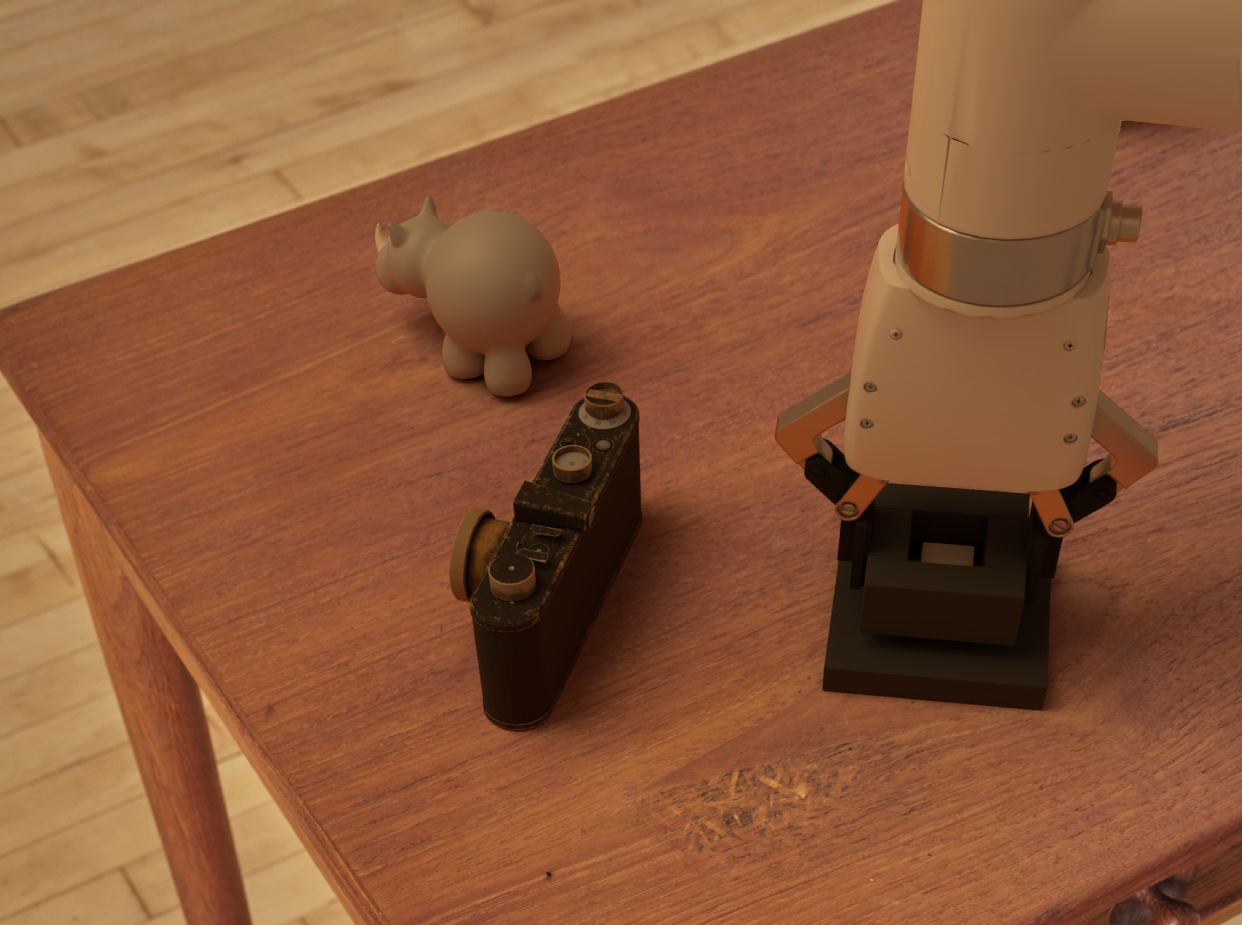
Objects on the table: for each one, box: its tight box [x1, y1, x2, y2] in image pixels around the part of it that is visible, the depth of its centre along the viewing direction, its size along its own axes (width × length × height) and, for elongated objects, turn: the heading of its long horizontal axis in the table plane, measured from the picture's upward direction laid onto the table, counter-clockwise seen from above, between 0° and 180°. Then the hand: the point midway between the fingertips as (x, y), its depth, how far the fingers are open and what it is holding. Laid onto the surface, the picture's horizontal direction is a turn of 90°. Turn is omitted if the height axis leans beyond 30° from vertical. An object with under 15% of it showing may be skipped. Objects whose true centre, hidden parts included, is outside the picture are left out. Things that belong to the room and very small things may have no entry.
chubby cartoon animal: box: [373, 194, 571, 397], centre depth 98 cm, size 7×12×8 cm, turn 50°
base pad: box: [821, 542, 1052, 711], centre depth 85 cm, size 10×10×4 cm
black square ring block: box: [859, 482, 1031, 646], centre depth 83 cm, size 7×7×3 cm
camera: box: [448, 381, 643, 731], centre depth 85 cm, size 16×7×8 cm, turn 160°
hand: (942, 574), depth 84 cm, fingers closed on black square ring block, 7 cm apart
